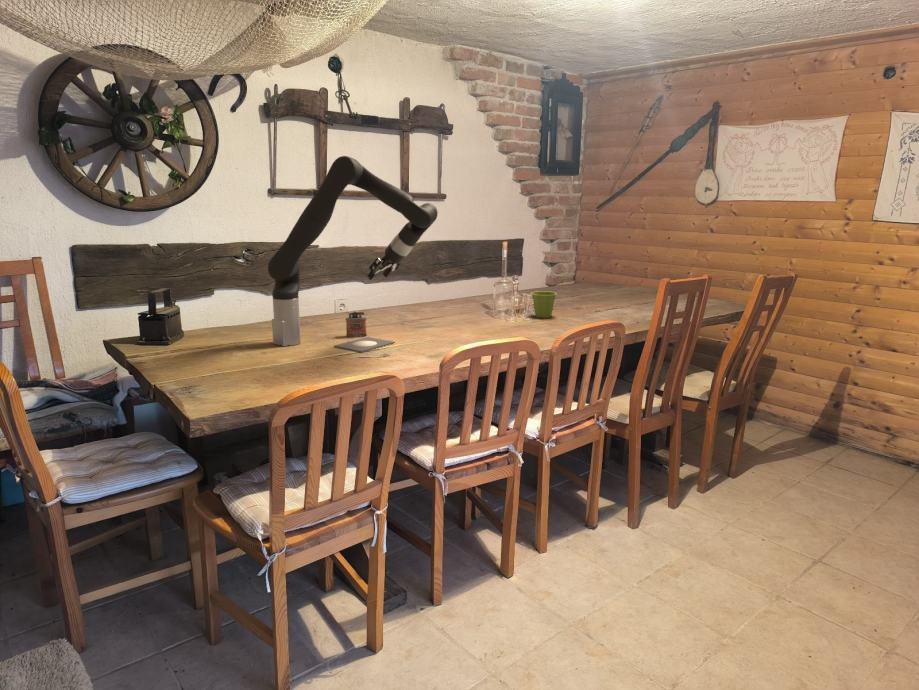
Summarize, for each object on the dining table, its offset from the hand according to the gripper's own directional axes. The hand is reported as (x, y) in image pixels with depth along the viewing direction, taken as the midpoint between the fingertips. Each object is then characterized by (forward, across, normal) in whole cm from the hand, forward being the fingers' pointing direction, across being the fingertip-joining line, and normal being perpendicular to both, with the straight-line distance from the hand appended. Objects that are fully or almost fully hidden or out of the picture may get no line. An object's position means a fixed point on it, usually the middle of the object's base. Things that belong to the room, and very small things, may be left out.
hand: (377, 276), depth 235 cm
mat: (+16, +9, +18) cm, 26 cm away
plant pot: (-2, -81, +38) cm, 89 cm away
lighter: (+26, 0, +9) cm, 27 cm away
